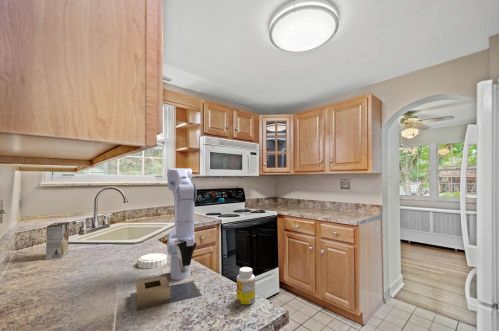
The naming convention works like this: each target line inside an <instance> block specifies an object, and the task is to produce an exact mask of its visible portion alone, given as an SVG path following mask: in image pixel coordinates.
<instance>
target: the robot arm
mask: <svg viewBox="0 0 499 331" xmlns="http://www.w3.org/2000/svg"><path fill="white" fill-rule="evenodd" d="M192 180H193V170H192V168H190V167H189V168H177V167H176V168H175V167H174V168H172V167H169V168H168V169H167V188H168V190H169V191H171V192H172V195H173V199H174V200H173V202H174V205H173V206H174V229H173V230H171V231H170V232H168V234H167V244H166V245H167V249H166V251H167V252H166V253H167V255H169V256H170V263H169V264H170V265H169V266H170V268H169V269H170V270H169V273H170V279H171V280H173V281H174V280H175V281H181V280H185V279H188V278H189V277H191V263H192V258H193V253H194V252H195V249H196V247H197V242H196V241H195V237H196V235H195V234H196V233H195V202H196V200H197V186H196V183H192ZM177 239H179V240H183V241H184V243H179V244H178V247H179V249H180V252H181V258H182V264H183V266H189V268H190V270H189V271H187V272H185V273H181V272H180V267H179V261H178V256H177V250H176V245H174V241H175V240H177Z"/></svg>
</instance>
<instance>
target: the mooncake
mask: <svg viewBox="0 0 499 331" xmlns="http://www.w3.org/2000/svg"><path fill="white" fill-rule="evenodd" d="M166 264H168V255H167V254H165V253H162V252H157V253H154V252H152V253H147V254H144V255H142V256H140V257H139V258H138V259H137V266H138V267H137V268H140V269H144V270H150V269H157V268H159V267H163V266H165V265H166Z"/></svg>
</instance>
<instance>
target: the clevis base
mask: <svg viewBox="0 0 499 331" xmlns="http://www.w3.org/2000/svg"><path fill="white" fill-rule="evenodd" d="M135 283H136V285H135V292H133V293H132V292H131V293H130V313H134V312H139V311H143V310H146V309H147V310H148V309H152V308H157V307H159V306H163V305H169V304H173V303H177V302H181V301H185V300H189V299H190V300H191V299H194V298H199V297H203V295H202V293H201V291H200V290H199V289H198V287H197V285H196V284H195V282H194V281H193V280H192V281H187V282H182V283H178V284H173V285H170V284H169V281H168V279H167V276H166V275H165V276H161V277H153V278H150V279H145V280H138V281H135Z"/></svg>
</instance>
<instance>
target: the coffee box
mask: <svg viewBox="0 0 499 331" xmlns="http://www.w3.org/2000/svg"><path fill="white" fill-rule="evenodd" d="M69 229H70V221H65V222H63V221H60V222H53V223H51V224H49V225H47V226H46V244H45V245H46V246H45V247H46V248H45V260H46V261H49V260H50V261H52V260H59V259H62V258H64V257H65V256H66V255H67V254H69V236H70V234H69V231H70V230H69ZM51 259H52V260H51Z"/></svg>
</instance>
